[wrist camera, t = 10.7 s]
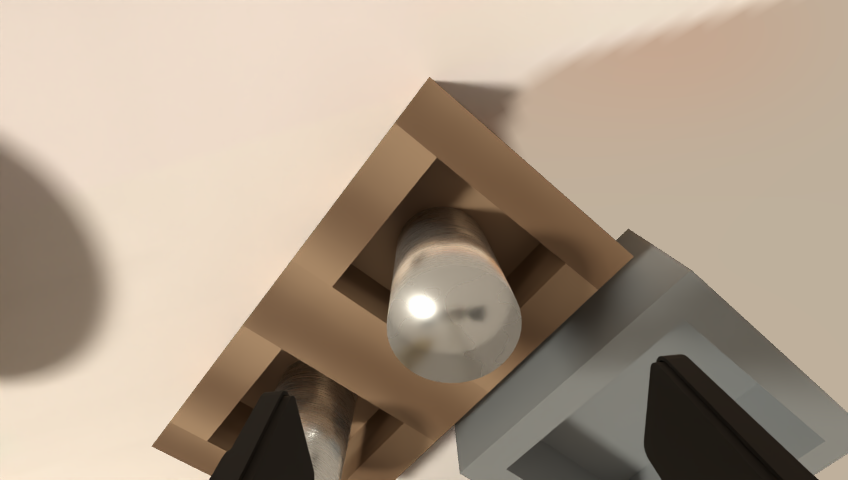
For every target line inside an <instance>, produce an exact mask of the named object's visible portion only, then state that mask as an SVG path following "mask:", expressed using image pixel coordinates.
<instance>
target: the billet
mask: <svg viewBox="0 0 848 480" xmlns="http://www.w3.org/2000/svg"><path fill="white" fill-rule="evenodd" d="M521 325H522V319H521V312H520V308H519V305H518V303H517V300H516V298H515V296H514V294H513V292H512V290H511V288H510V286H509V284H508V282H507V280H506V278H505V276H504V274H503V272H502V270H501V268H500V265H499V263H498V261H497V259H496V257H495V255H494V253H493V251H492V249H491V247H490V245H489V243H488V241H487V239H486V237H485V235H484V233H483V231H482V229H481V227H480V226H479V224H478V223H477V222H476V220H474V219H473V218H472V217H471V216H470V215H468V214H467V213H465V212H463V211H461V210H459V209H456V208H452V207H444V206H443V207H433V208H429V209H426V210H423V211H421V212H419V213H418V214H416V215H414V216H413V217H412V218H411V219H410V220H409V221H408V222H407V223H406V224H405V226H404V227H403V229H402V230H401V232H400V235H399V238H398V242H397V248H396V256H395V264H394V271H393V279H392V286H391V294H390V301H389V309H388V316H387V336H388V340H389V343H390V346H391V349H392V350H393V352H394V354H395V356H396V357H397V358H398V359H399V361H400V362H401V363H402V364H403V365H404V366H405V367H406V368H408V369H409V370H410V371H412V372H413V373H415V374H417V375H419V376H421V377H423V378H426V379H429V380H432V381H436V382H442V383H461V382H467V381H471V380H475V379H478V378H481V377H483V376H485V375H487V374H489V373H491V372H492V371H494V370H495V369H497V368H498V367H499V366H501V365H502V364H503V363H504V362H505V361H506V360H507V359H508V358H509V356H510V355H511V353H512V352H513V351H514V349H515V347H516V345H517V343H518V340H519V337H520V333H521Z"/></svg>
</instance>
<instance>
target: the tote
mask: <svg viewBox="0 0 848 480" xmlns="http://www.w3.org/2000/svg"><path fill="white" fill-rule="evenodd" d="M616 241H617V242H618V243H619V244H620V245H621V246H623V247H624V248H625V249H626V250H627V251H628V252H629V253H631V254H632V255H633V256H634V257H633V258H632V259H631V260H630V261H629V262H628V263H627V264H625V265H624V266H623V267H622V268H621V269H620V270H619V271H618V272H617V273H616V274H615V275H614V276H613V277H612V278H610V279H609V280H608V281H607V282H606V283H605V284H604V285H603V286H602V287H601V288H600V289H599V290H598V291H597V292H595V293H594V294H593V295H592V296H591V297H590V298H589V299H588V300H587V301H586V302H585V303H584V304H583V305H582V306H580V307H579V308H578V309H577V310H576V311H575V312H574V313H573V314H572V315H571V316H570V317H569V318H568V319H567V320H566V321H564V322H563V323H562V324H561V325H560V326H559V327H558V328H557V329H556V330H555V331H554V332H553V333H552V334H551V335H549V336H548V337H547V338H546V339H545V340H544V341H543V342H542V343H541V344H540V345H539V346H538V347H537V348H536V349H534V350H533V351H532V352H531V353H530V354H529V355H528V356H527V357H526V358H525V359H524V360H523V361H522V362H521V363H519V364H518V365H517V366H516V367H515V368H514V369H513V370H512V371H511V372H510V373H509V374H508V375H507V376H506V377H505V378H503V379H502V380H501V381H500V382H499V383H498V384H497V385H496V386H495V387H494V388H493V389H492V390H491V391H490V392H488V393H487V394H486V395H485V396H484V397H483V398H482V399H481V400H480V401H479V402H478V403H477V404H476V405H475V406H473V407H472V408H471V409H470V410H469V411H468V412H467V413H466V414H465V415H464V416H463V417H462V418H461V419H460V420H458V421H457V422H456V423H455V433H456V442H457V451H458V461H459V470H460V474H462V475H463V476H465V477H467V478H469V479H470V480H661V478H660V477H659V475H658V474H657V472H656V470H655V469H654V467H653V466H652V464H651V463H650V461H649V459H648V458H647V455H646V453H645V449H644V433H645V422H646V411H647V400H648V389H649V378H650V367H651V364H652V363H654V362H656V360H657V358H658V357H659V356H666V355H677V354H683V355H686V356H687V357H688V358H689V359H691V360H692V361H693V362H694V363H695V364H696V365H697V366H698V367H699V368H700V369H701V370H702V371H703V372H704V373H705V374H706V375H708V376H709V377H710V378H711V379H712V380H713V381H714V382H715V383H716V384H717V385H718V386H719V387H720V388H721V389H722V390H724V391H725V392H726V393H727V394H728V395H729V396H730V397H731V398H732V399H733V400H734V401H735V402H736V403H737V404H738V405H739V406H741V407H742V408H743V409H744V410H745V411H746V412H747V413H748V414H749V415H750V416H751V417H752V418H753V419H754V420H755V421H756V422H758V423H759V424H760V425H761V426H762V427H763V428H764V429H765V430H766V431H767V432H768V433H769V434H770V435H771V436H772V437H773V438H775V439H776V440H777V441H778V442H779V443H780V444H781V445H782V446H783V447H784V448H785V449H786V450H787V451H788V452H789V453H790V454H792V455H793V456H794V457H795V458H796V459H797V460H798V461H799V462H800V463H801V464H802V465H803V466H804V467H805V468H806V469H808V470H809V471H810V472H811V473H812V474H813V475H815V474H817V473H818V472H820V471H821V470H823V469H824V468H826V467H827V466H829V465H831V464H832V463H834V462H835V461H837V460H838V459H840V458H841V457H843V456H845V455H846V454H847V453H848V413H847V412H846V411H845V410H844V409H843V408H842V407H841V406H840V405H839V404H837V403H836V402H835V401H834V400H833V399H832V398H831V397H830V396H829V395H828V394H826V393H825V392H824V391H823V390H822V389H821V388H820V387H819V386H818V385H817V384H816V383H814V382H813V381H812V380H811V379H810V378H809V377H808V376H807V375H806V374H804V373H803V372H802V371H801V370H800V369H799V368H798V367H797V366H796V365H795V364H794V363H792V362H791V361H790V360H789V359H788V358H787V357H786V356H785V355H784V354H783V353H782V352H780V351H779V350H778V349H777V348H776V347H775V346H774V345H773V344H772V343H770V341H768V340H767V339H766V338H765V337H764V336H763V335H762V334H761V333H760V332H759V331H757V330H756V329H755V328H754V327H753V326H752V325H751V324H750V323H749V322H748V321H747V320H745V319H744V318H743V317H742V316H741V315H740V314H739V313H738V312H736V310H734V309H733V308H732V307H731V306H730V305H729V304H728V303H727V302H726V301H725V300H724V299H722V298H721V297H720V296H719V295H718V294H717V293H716V292H715V291H714V290H713V289H711V288H710V287H709V286H708V285H707V284H706V283H705V282H704V281H703V280H702V279H701V278H699V277H698V276H697V275H696V274H695V273H694V272H693V271H692V270H690V269H689V268H687V267H686V266H684V265H683V264H681V263H680V262H678V261H677V260H675V259H674V258H672V257H671V256H669V255H667V254H666V253H664V252H663V251H661V250H660V249H658V248H657V247H655V246H654V245H652V244H651V243H649V242H648V241H646V240H645V239H643V238H642V237H640V236H638V235H637V234H635V233H634V232H632V231H631V230H629V229H628V230H627V231H626V232H625V233H624V234H622V235H621V236H620V237H619V238H618V239H617V240H616Z"/></svg>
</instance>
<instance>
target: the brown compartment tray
mask: <svg viewBox="0 0 848 480" xmlns="http://www.w3.org/2000/svg"><path fill="white" fill-rule="evenodd" d="M443 206H444V207H452V208H456V209H459V210H461V211H463V212H465V213H467V214H468V215H470V216H471V217H472V218H473V219H474V220H476V222H477V223H478V224H479V226H480V227H481V229H482V231H483V233H484V235H485V237H486V239H487V241H488V243H489V245H490V247H491V249H492V251H493V253H494V255H495V257H496V259H497V261H498V263H499V265H500V268H501V270H502V272H503V274H504V276H505V278H506V280H507V282H508V284H509V286H510V288H511V290H512V292H513V294H514V296H515V298H516V300H517V303H518V305H519V308H520V312H521V319H522V325H521V333H520V337H519V340H518V343H517V345H516V347H515V349H514V351H513V352H512V353H511V355H510V356H509V358H508V359H507V360H506V361H505V362H504V363H503V364H502V365H501V366H499V367H498V368H497V369H495V370H494V371H492V372H491V373H489V374H487V375H485V376H483V377H481V378H478V379H475V380H471V381H467V382H461V383H442V382H436V381H432V380H429V379H426V378H423V377H421V376H419V375H417V374H415V373H413V372H412V371H410V370H409V369H408V368H406V367H405V366H404V365H403V364H402V363H401V362H400V361H399V359H398V358H397V357H396V356H395V354H394V352H393V350H392V349H391V346H390V343H389V340H388V336H387V316H388V309H389V301H390V294H391V286H392V279H393V271H394V264H395V256H396V248H397V242H398V238H399V235H400V232H401V230H402V229H403V227H404V226H405V224H406V223H407V222H408V221H409V220H410V219H411V218H412V217H413V216H414V215H416V214H418V213H419V212H421V211H423V210H426V209H429V208H433V207H443ZM633 257H634V256H633V255H632V254H631V253H629V252H628V251H627V250H626V249H625V248H624V247H623V246H621V245H620V244H619V243H618V242H617V241H616V240H614V239H613V238H612V237H611V236H610V235H609V234H608V233H606V232H605V231H604V230H603V229H602V228H601V227H599V225H597V224H596V223H595V222H594V221H593V220H592V219H591V218H589V217H588V216H587V215H586V214H585V213H584V212H582V210H580V209H579V208H578V207H577V206H576V205H575V204H573V203H572V202H571V201H570V200H569V199H568V198H567V197H565V196H564V195H563V194H562V193H561V192H560V191H559V190H557V189H556V188H555V187H554V186H553V185H552V184H551V183H550V182H548V181H547V180H546V179H545V178H544V177H543V176H542V175H541V174H539V173H538V172H537V171H536V170H535V169H534V168H533V167H531V166H530V165H529V164H528V163H527V162H526V161H525V160H523V159H522V158H521V157H520V156H519V155H518V154H517V153H516V152H514V151H513V150H512V149H511V148H510V147H509V146H508V145H506V144H505V143H504V142H503V141H502V140H501V139H500V138H498V137H497V136H496V135H495V134H494V133H493V132H492V131H490V130H489V129H488V128H487V127H486V126H485V125H484V124H482V123H481V122H480V121H479V120H478V119H477V118H476V117H475V116H473V115H472V114H471V113H470V112H469V111H468V110H467V109H465V108H464V107H463V106H462V105H461V104H460V103H459V102H457V101H456V100H455V99H454V98H453V97H452V96H451V95H449V94H448V93H447V92H446V91H445V90H444V89H443V88H442V87H440V86H439V85H438V84H437V83H436V82H435V81H434V80H432V79H431V78H430V77H429V78H428V80H427V81H426V82H425V84H424V85H423V86H422V88H421V89H420V90H419V92H418V93H417V94H416V96H415V97H414V98H413V100H412V101H411V102H410V104H409V105H408V106H407V108H406V109H405V110H404V112H403V113H402V114H401V115H400V117H399V118H398V119H397V121H396V122H395V123H394V125H393V126H392V127H391V129H390V130H389V131H388V133H387V134H386V135H385V137H384V138H383V139H382V141H381V142H380V143H379V145H378V146H377V147H376V149H375V150H374V151H373V153H372V154H371V155H370V157H369V158H368V159H367V161H366V162H365V163H364V165H363V166H362V167H361V169H360V170H359V171H358V173H357V174H356V175H355V177H354V178H353V179H352V181H351V182H350V183H349V185H348V186H347V187H346V189H345V190H344V191H343V193H342V194H341V195H340V197H339V198H338V199H337V201H336V202H335V203H334V205H333V206H332V207H331V209H330V210H329V211H328V213H327V214H326V215H325V217H324V218H323V219H322V221H321V222H320V223H319V225H318V226H317V227H316V229H315V230H314V231H313V232H312V234H311V235H310V236H309V238H308V239H307V240H306V242H305V243H304V244H303V246H302V247H301V248H300V250H299V251H298V252H297V254H296V255H295V256H294V258H293V259H292V260H291V262H290V263H289V264H288V266H287V267H286V268H285V270H284V271H283V272H282V274H281V275H280V276H279V278H278V279H277V280H276V282H275V283H274V284H273V286H272V287H271V288H270V290H269V291H268V292H267V294H266V295H265V296H264V298H263V299H262V300H261V302H260V303H259V304H258V306H257V307H256V308H255V310H254V311H253V312H252V314H251V315H250V316H249V318H248V319H247V320H246V322H245V323H244V324H243V326H242V327H241V328H240V330H239V331H238V332H237V334H236V335H235V336H234V338H233V339H232V340H231V342H230V343H229V344H228V346H227V347H226V348H225V350H224V351H223V352H222V353H221V355H220V356H219V357H218V359H217V360H216V361H215V363H214V364H213V365H212V367H211V368H210V369H209V371H208V372H207V373H206V375H205V376H204V377H203V379H202V380H201V381H200V383H199V384H198V385H197V387H196V388H195V389H194V391H193V392H192V393H191V395H190V396H189V397H188V399H187V400H186V401H185V403H184V404H183V405H182V407H181V408H180V409H179V411H178V412H177V413H176V415H175V416H174V417H173V419H172V420H171V421H170V423H169V424H168V425H167V427H166V428H165V429H164V431H163V432H162V433H161V435H160V436H159V437H158V439H157V440H156V441H155V443H154V444H153V445H152V447H154V448H156V449H158V450H160V451H162V452H164V453H166V454H168V455H170V456H172V457H174V458H176V459H178V460H180V461H182V462H184V463H186V464H188V465H190V466H192V467H194V468H196V469H198V470H200V471H202V472H204V473H207V474H209V475H211V476H212V474H213V472H214V470H215V469H216V467H217V465H218V463H219V462H220V460H221V458H222V457H223V455H224V454H225V453H226V452H227V451H228V450H230V449H231V448H232V446H233V444H234V443H235V441H236V439H237V437H238V435H239V434H240V432H241V430H242V428H243V427H244V425H245V423H246V421H247V419H248V418H249V416H250V414H251V412H252V410H253V409H254V407H255V405H256V403H257V402H258V400H259V398H260V396H261V395H262V394H263V393H264V392H273V391H275V390H276V388H277V385H278V383H279V381H280V379H281V377H282V375H283V373H284V372H285V370H286V369H287V368H288V367H289V366H290V365H292V364H293V363H295V362H297V361H299V360H301V361H302V362H304V363H306V364H307V365H309V366H311V367H312V368H314V369H316V370H317V371H319V372H321V373H322V374H324V375H326V376H327V377H329V378H330V379H332V380H334V381H335V382H337V383H339V384H340V385H342V386H344V387H345V388H347V389H349V390H350V391H352V392H354V393H355V394H357V395H358V396H357V401H356V406H355V411H354V416H353V421H352V426H351V431H350V436H349V441H348V446H347V451H346V456H345V461H344V465H343V470H342V475H341V480H395V479H396V478H397V477H399V476H400V475H401V474H402V473H403V472H404V471H405V470H406V469H407V468H408V467H409V466H410V465H411V464H412V463H414V462H415V461H416V460H417V459H418V458H419V457H420V456H421V455H422V454H423V453H424V452H425V451H426V450H427V449H429V448H430V447H431V446H432V445H433V444H434V443H435V442H436V441H437V440H438V439H439V438H440V437H441V436H442V435H444V434H445V433H446V432H447V431H448V430H449V429H450V428H451V427H452V426H453V425H454V424H455V423H456V422H457V421H458V420H460V419H461V418H462V417H463V416H464V415H465V414H466V413H467V412H468V411H469V410H470V409H471V408H472V407H473V406H475V405H476V404H477V403H478V402H479V401H480V400H481V399H482V398H483V397H484V396H485V395H486V394H487V393H488V392H490V391H491V390H492V389H493V388H494V387H495V386H496V385H497V384H498V383H499V382H500V381H501V380H502V379H503V378H505V377H506V376H507V375H508V374H509V373H510V372H511V371H512V370H513V369H514V368H515V367H516V366H517V365H518V364H519V363H521V362H522V361H523V360H524V359H525V358H526V357H527V356H528V355H529V354H530V353H531V352H532V351H533V350H534V349H536V348H537V347H538V346H539V345H540V344H541V343H542V342H543V341H544V340H545V339H546V338H547V337H548V336H549V335H551V334H552V333H553V332H554V331H555V330H556V329H557V328H558V327H559V326H560V325H561V324H562V323H563V322H564V321H566V320H567V319H568V318H569V317H570V316H571V315H572V314H573V313H574V312H575V311H576V310H577V309H578V308H579V307H580V306H582V305H583V304H584V303H585V302H586V301H587V300H588V299H589V298H590V297H591V296H592V295H593V294H594V293H595V292H597V291H598V290H599V289H600V288H601V287H602V286H603V285H604V284H605V283H606V282H607V281H608V280H609V279H610V278H612V277H613V276H614V275H615V274H616V273H617V272H618V271H619V270H620V269H621V268H622V267H623V266H624V265H625V264H627V263H628V262H629V261H630V260H631V259H632V258H633Z"/></svg>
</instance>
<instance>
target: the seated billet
mask: <svg viewBox="0 0 848 480" xmlns="http://www.w3.org/2000/svg"><path fill="white" fill-rule="evenodd" d="M283 390H285V391H287V392H288V394H289V396H294V397H295V399H296V403H297V407H298V411H299V414H300V418H301V422H302V426H303V430H304V434H305V438H306V442H307V446H308V450H309V453H310V457H311V461H312V465H313V469H314V480H341V475H342V470H343V465H344V461H345V456H346V451H347V446H348V441H349V436H350V431H351V426H352V421H353V416H354V411H355V406H356V401H357V396H358V395H357V394H355V393H354V392H352V391H350V390H349V389H347V388H345V387H344V386H342V385H340V384H339V383H337V382H335V381H334V380H332V379H330V378H329V377H327V376H326V375H324V374H322V373H321V372H319V371H317V370H316V369H314V368H312V367H311V366H309V365H307V364H306V363H304V362H302V361H301V360H299V361H297V362H295V363H293V364H292V365H290V366H289V367H288V368H287V369H286V370H285V372H284V373H283V375H282V377H281V379H280V381H279V383H278V385H277V388H276V390H275V391H283Z"/></svg>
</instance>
